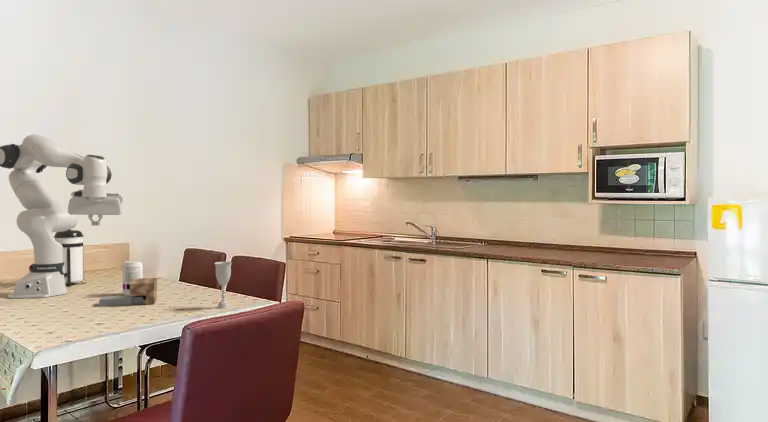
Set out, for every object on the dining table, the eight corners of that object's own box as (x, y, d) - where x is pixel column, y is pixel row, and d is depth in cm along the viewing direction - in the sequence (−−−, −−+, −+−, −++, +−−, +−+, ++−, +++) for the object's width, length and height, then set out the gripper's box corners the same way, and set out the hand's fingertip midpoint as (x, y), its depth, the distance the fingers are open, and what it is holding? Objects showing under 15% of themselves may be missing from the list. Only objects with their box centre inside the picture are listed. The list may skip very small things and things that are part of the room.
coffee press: (51, 283, 268) (50, 224, 267) (87, 281, 275) (87, 223, 274) (46, 288, 253) (45, 226, 252) (84, 286, 259) (83, 225, 258)
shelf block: (130, 305, 215) (129, 283, 215) (134, 299, 228) (134, 278, 228) (154, 304, 218) (153, 282, 217) (157, 298, 231) (156, 277, 231)
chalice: (211, 306, 214) (211, 262, 213) (227, 304, 218) (227, 261, 218) (219, 309, 208) (218, 264, 208) (235, 307, 213) (235, 263, 212)
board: (99, 307, 213) (99, 299, 213) (102, 303, 220) (102, 296, 220) (142, 304, 218) (142, 297, 218) (144, 301, 225) (144, 294, 225)
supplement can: (118, 295, 236) (118, 262, 236) (132, 292, 244) (132, 260, 243) (133, 297, 234) (133, 263, 233) (146, 293, 242) (146, 261, 241)
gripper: (123, 193, 231) (123, 225, 232) (70, 192, 225) (70, 224, 225) (121, 193, 225) (121, 226, 226) (66, 192, 219) (66, 225, 219)
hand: (95, 225), depth 225 cm, fingers closed
